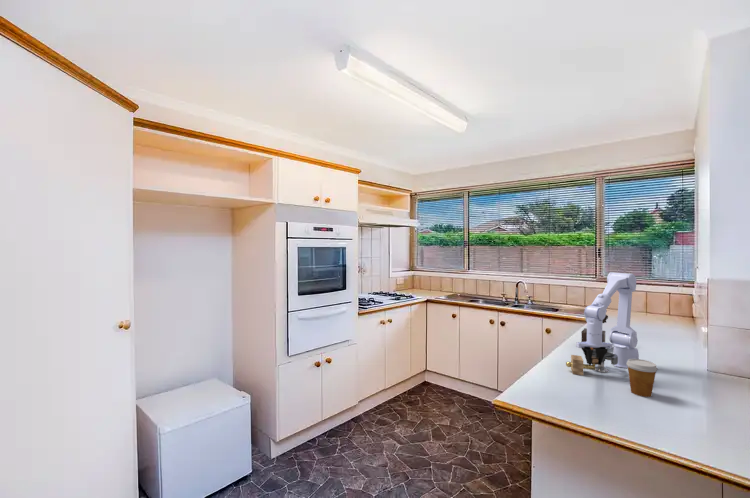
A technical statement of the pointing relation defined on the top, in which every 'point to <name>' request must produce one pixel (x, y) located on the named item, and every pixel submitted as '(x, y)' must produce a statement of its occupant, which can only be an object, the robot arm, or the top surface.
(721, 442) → the top surface
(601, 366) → the axle post
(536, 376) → the top surface
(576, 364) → the block
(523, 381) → the top surface
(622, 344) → the robot arm
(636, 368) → the disposable coffee cup
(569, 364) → the brass bar with knob
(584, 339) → the coffee grinder
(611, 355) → the locking wheel
